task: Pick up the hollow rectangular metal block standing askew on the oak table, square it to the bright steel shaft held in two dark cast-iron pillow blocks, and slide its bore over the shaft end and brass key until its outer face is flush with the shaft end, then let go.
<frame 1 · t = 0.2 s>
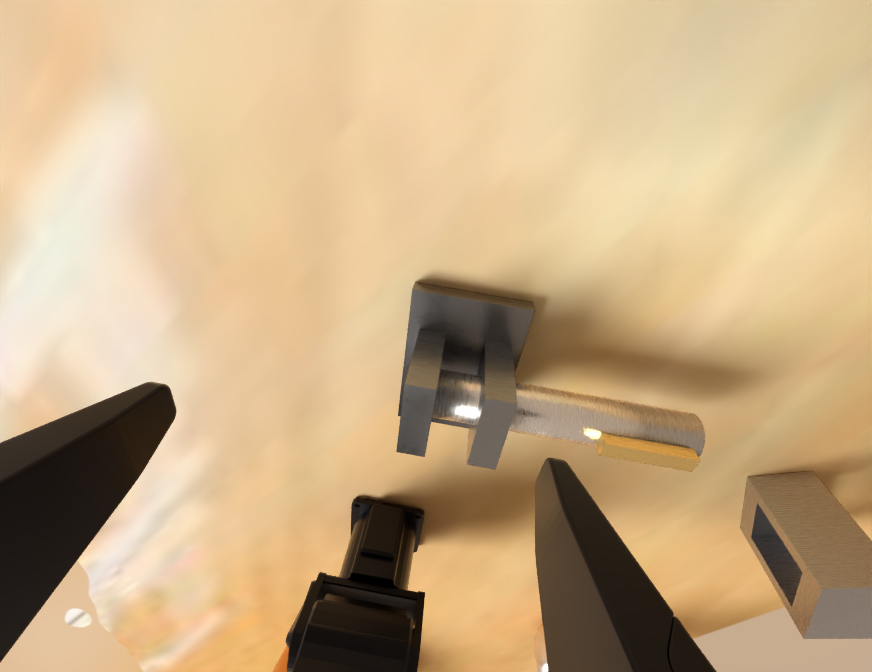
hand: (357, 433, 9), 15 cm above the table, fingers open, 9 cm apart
shaft stand: (542, 374, 26), on the table
plastic bottle: (562, 624, 44), on the table
hollow rectangular metal block: (773, 501, 30), on the table
flower pot: (316, 651, 57), on the table
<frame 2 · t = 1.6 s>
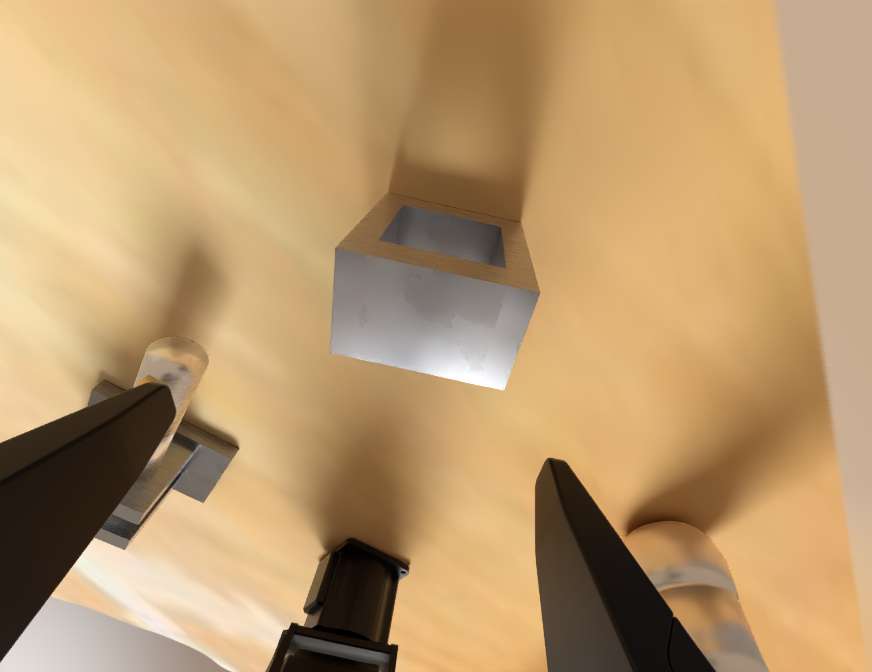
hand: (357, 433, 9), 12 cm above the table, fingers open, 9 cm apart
shaft stand: (182, 399, 27), on the table
plastic bottle: (658, 532, 30), on the table
hollow rectangular metal block: (445, 248, 19), on the table
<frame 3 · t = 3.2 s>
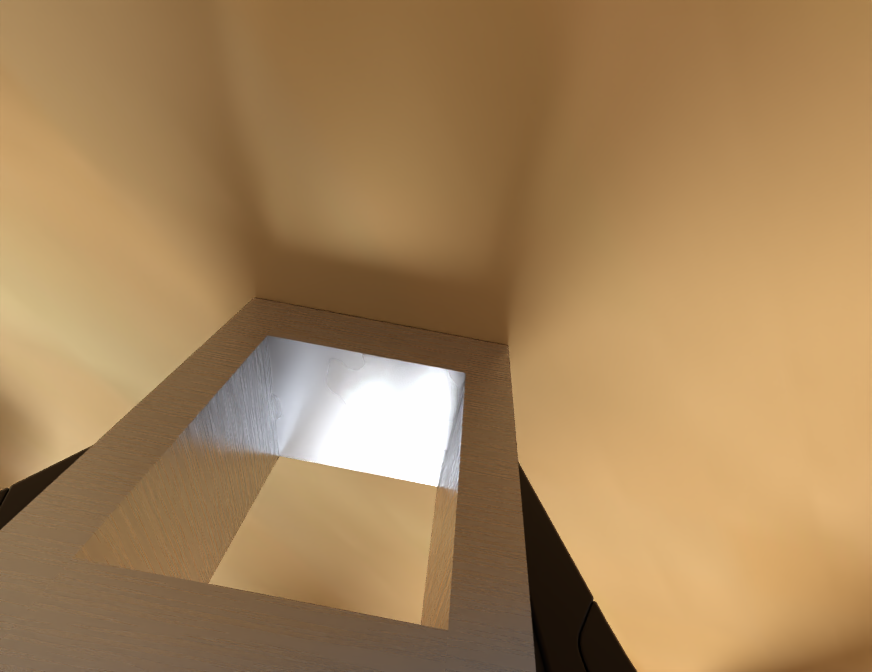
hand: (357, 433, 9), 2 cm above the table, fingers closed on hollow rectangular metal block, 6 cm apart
hollow rectangular metal block: (375, 382, 11), on the table, touching gripper
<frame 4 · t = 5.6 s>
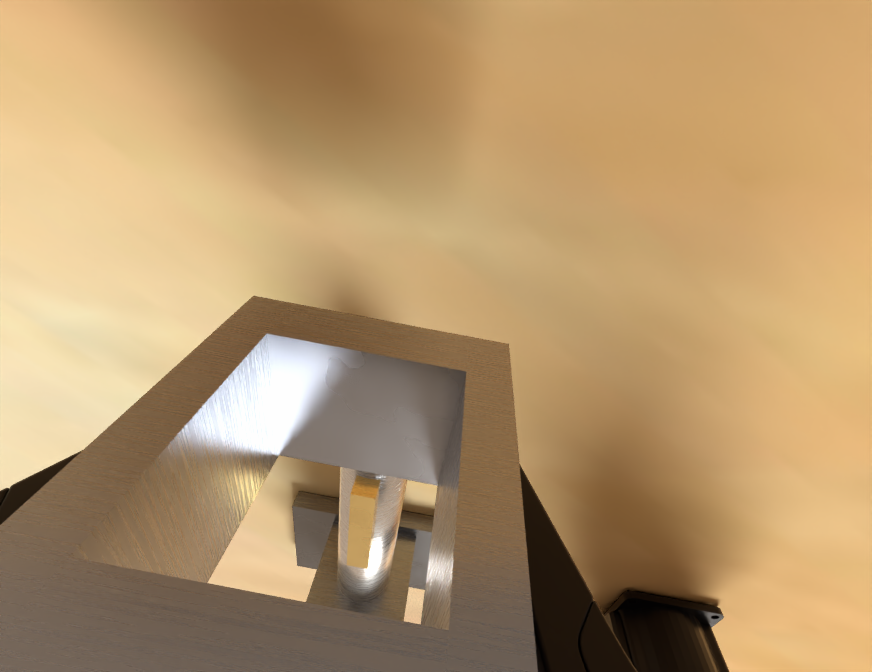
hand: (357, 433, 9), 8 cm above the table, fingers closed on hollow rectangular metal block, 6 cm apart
shaft stand: (382, 486, 23), on the table
hollow rectangular metal block: (375, 381, 11), point 6 cm above the table, touching gripper
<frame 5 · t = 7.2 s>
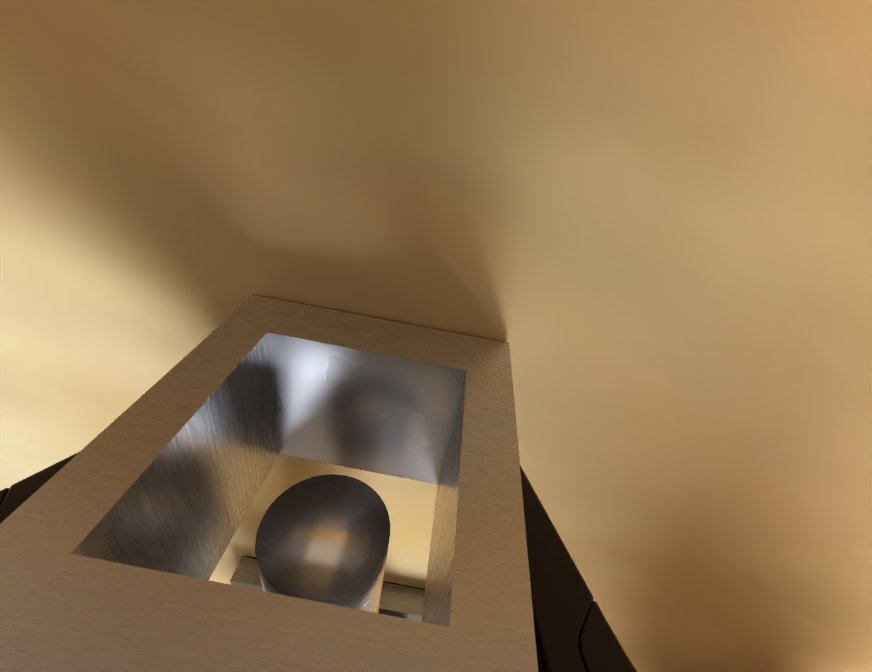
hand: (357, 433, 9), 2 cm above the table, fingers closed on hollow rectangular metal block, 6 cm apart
shaft stand: (357, 553, 16), on the table
hollow rectangular metal block: (375, 380, 11), on the table, touching gripper
when the fingers open (2 cm above the table, at t = 8.4 s): hollow rectangular metal block stays where it is, on the table.
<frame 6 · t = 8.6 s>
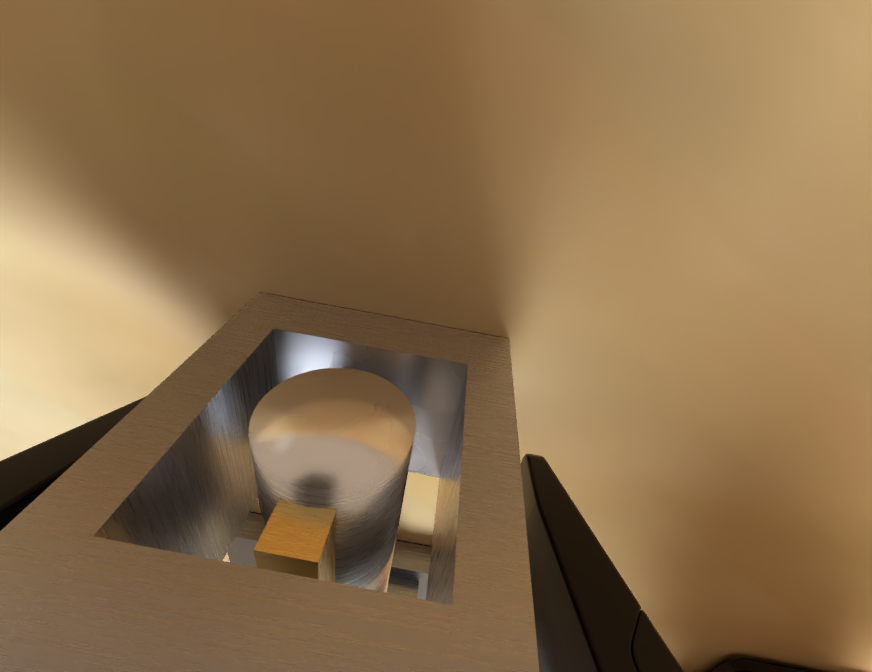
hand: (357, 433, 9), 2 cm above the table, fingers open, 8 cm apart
shaft stand: (364, 503, 14), on the table
hollow rectangular metal block: (378, 376, 11), on the table
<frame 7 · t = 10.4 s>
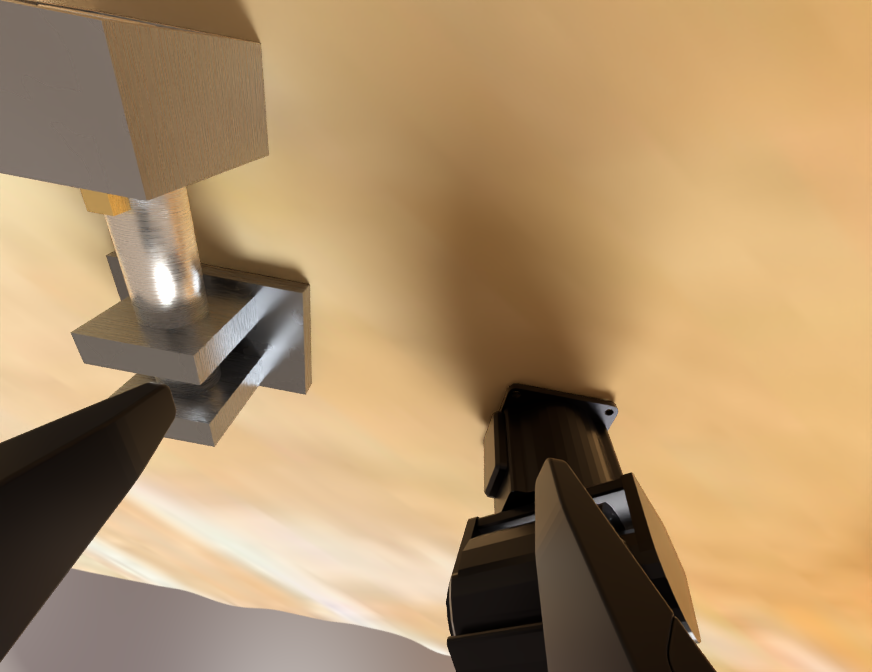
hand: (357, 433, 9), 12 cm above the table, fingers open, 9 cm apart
shaft stand: (209, 229, 19), on the table
hollow rectangular metal block: (188, 88, 16), on the table
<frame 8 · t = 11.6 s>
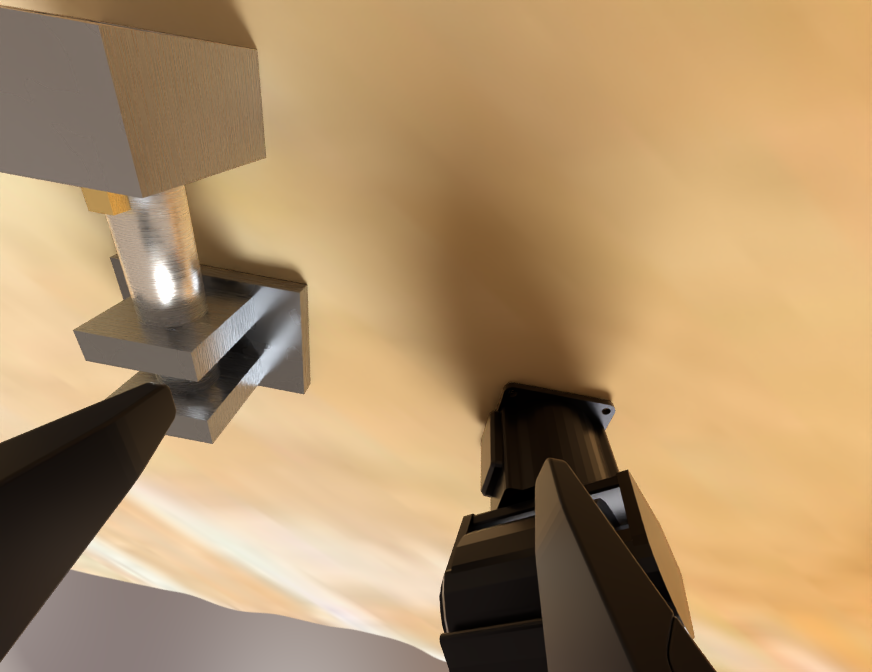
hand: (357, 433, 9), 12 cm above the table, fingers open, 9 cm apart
shaft stand: (209, 231, 20), on the table
hollow rectangular metal block: (188, 93, 17), on the table
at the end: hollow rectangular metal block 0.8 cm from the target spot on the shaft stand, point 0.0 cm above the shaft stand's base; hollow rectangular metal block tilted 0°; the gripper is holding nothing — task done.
